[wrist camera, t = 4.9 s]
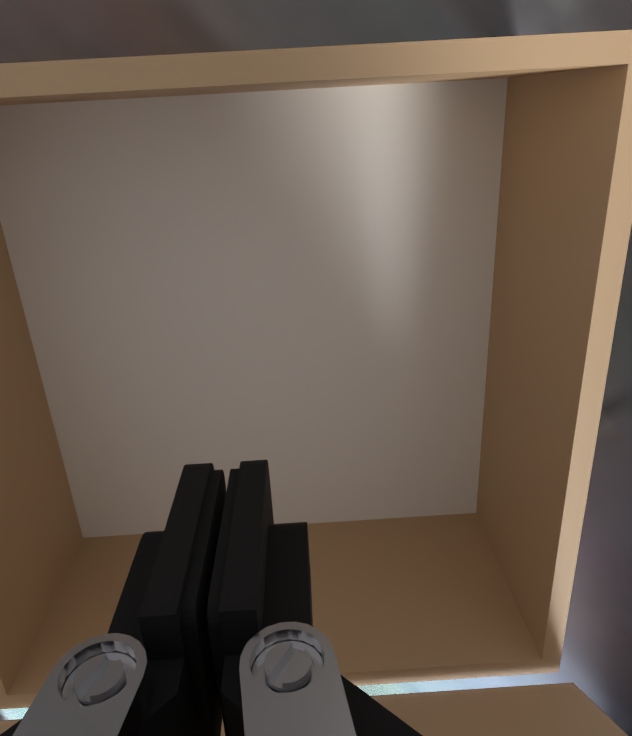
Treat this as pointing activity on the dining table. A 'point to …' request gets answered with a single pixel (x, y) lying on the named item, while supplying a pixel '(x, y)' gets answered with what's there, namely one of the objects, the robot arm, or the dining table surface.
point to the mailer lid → (494, 712)
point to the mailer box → (315, 330)
